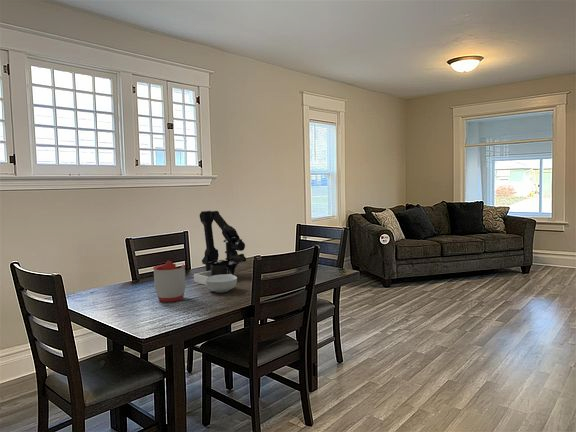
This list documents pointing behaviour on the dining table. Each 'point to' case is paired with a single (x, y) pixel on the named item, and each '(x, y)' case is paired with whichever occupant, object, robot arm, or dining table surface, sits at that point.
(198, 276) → the tray
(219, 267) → the mug
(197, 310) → the dining table surface
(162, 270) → the citrus juicer
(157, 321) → the dining table surface
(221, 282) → the cereal bowl
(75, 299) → the dining table surface
